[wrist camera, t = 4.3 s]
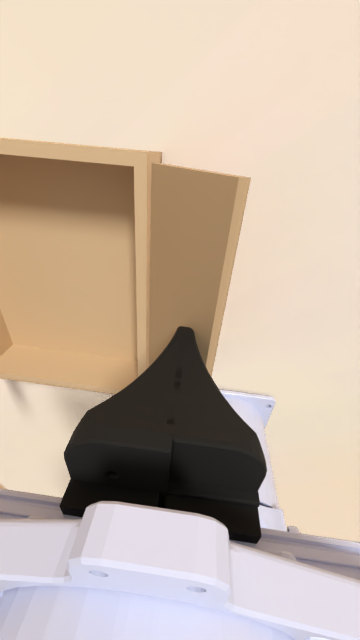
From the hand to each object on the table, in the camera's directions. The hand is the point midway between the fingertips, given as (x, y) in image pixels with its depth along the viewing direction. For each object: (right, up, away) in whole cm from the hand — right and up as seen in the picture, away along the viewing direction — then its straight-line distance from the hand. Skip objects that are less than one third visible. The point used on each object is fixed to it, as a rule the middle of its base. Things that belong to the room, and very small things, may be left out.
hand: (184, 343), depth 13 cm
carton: (-8, +5, +6) cm, 12 cm away
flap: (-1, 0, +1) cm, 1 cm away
